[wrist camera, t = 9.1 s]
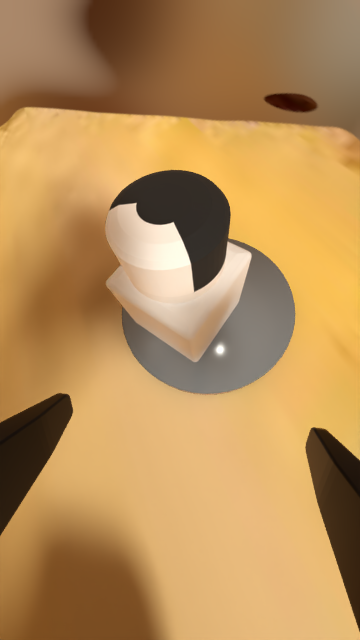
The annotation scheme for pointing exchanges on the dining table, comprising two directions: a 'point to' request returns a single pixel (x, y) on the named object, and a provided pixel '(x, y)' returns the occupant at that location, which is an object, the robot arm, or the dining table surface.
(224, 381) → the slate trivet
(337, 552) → the robot arm
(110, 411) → the dining table surface
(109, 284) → the medicine bottle
